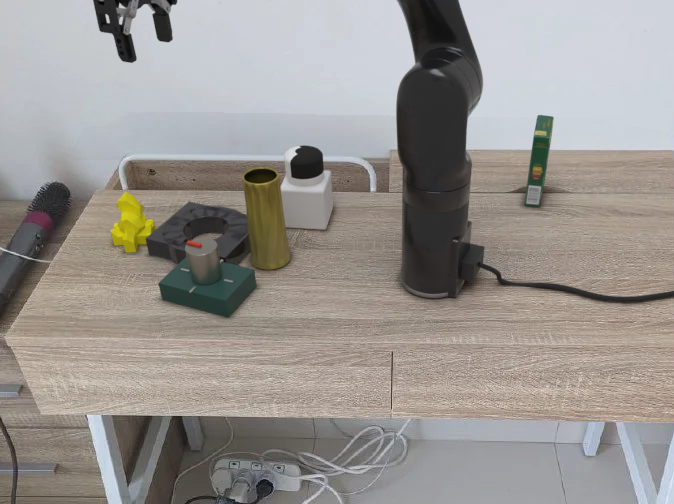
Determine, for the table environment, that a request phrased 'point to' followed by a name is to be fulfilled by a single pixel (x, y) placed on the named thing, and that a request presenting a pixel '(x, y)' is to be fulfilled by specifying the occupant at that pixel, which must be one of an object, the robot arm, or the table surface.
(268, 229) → the vase
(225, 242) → the square flange with hole
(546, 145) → the coffee box
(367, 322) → the table surface
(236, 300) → the panel
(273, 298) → the table surface
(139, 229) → the yellow faceted cluster
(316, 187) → the medicine bottle
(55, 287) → the table surface
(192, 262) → the grey rotary knob
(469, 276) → the robot arm
